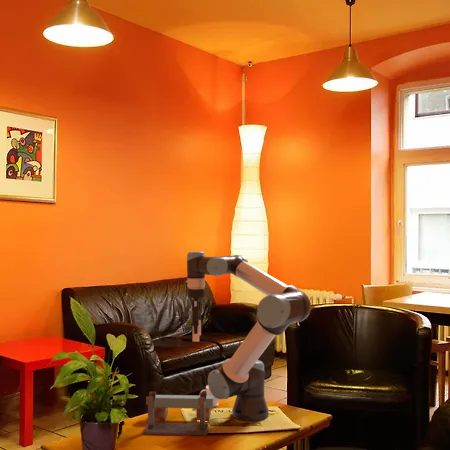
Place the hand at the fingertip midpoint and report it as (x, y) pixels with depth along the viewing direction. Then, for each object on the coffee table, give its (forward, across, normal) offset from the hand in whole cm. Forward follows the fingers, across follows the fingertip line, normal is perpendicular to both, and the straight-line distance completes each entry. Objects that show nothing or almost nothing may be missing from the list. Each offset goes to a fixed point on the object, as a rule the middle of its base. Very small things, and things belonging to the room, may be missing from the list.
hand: (196, 338), depth 246 cm
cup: (+32, -10, +5) cm, 34 cm away
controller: (+32, +27, -29) cm, 51 cm away
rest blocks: (+31, +7, -6) cm, 33 cm away
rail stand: (+32, +21, -7) cm, 39 cm away
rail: (+26, +7, -6) cm, 28 cm away
